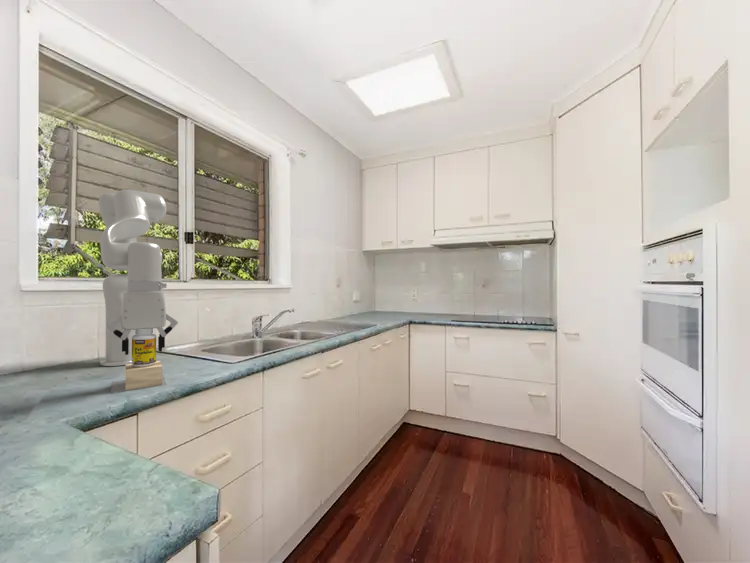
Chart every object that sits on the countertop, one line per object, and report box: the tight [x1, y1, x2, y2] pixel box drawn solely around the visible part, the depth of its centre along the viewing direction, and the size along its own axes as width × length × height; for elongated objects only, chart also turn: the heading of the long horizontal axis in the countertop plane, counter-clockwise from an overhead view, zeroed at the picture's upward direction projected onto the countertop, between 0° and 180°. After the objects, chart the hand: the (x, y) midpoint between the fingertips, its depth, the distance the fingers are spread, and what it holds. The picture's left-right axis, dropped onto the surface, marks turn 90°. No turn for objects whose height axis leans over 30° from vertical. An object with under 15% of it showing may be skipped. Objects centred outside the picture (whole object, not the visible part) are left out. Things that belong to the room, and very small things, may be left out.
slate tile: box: [110, 374, 167, 394], centre depth 93 cm, size 12×12×1 cm
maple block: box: [125, 360, 163, 390], centre depth 92 cm, size 8×8×5 cm
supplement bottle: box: [132, 328, 157, 367], centre depth 92 cm, size 6×6×10 cm
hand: (143, 351), depth 92 cm, fingers open, 7 cm apart
